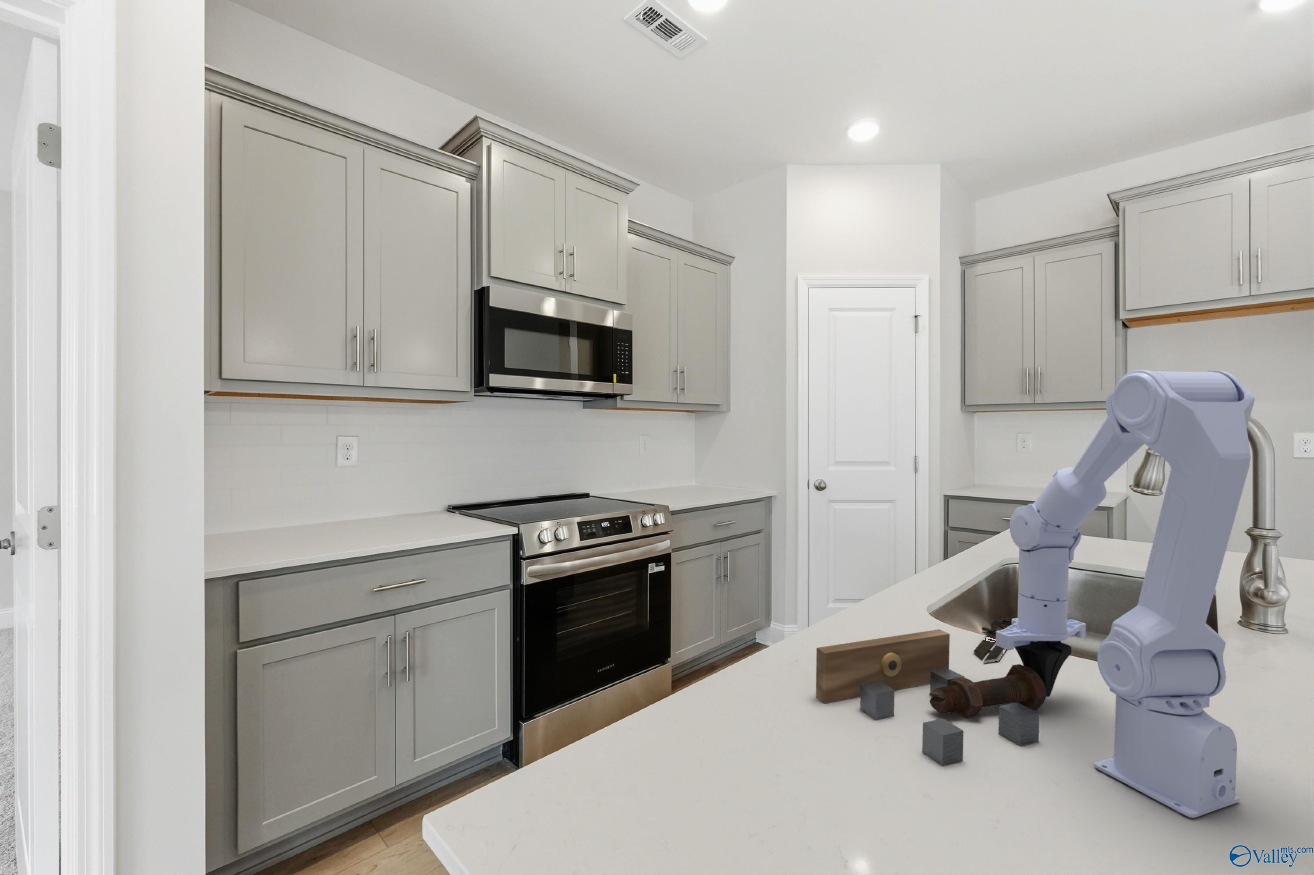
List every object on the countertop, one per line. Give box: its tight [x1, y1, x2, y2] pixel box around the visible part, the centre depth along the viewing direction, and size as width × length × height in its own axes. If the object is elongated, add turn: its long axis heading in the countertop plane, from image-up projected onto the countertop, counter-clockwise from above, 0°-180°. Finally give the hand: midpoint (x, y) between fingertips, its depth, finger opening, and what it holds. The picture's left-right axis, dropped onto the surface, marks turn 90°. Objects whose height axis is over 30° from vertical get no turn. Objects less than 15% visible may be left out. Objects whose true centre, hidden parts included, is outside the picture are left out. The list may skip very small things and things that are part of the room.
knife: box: [973, 617, 1013, 664], centre depth 106 cm, size 25×6×1 cm, turn 135°
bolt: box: [928, 663, 1047, 719], centre depth 81 cm, size 6×5×15 cm
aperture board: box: [815, 629, 951, 705], centre depth 87 cm, size 3×22×7 cm, turn 110°
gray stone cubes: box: [859, 668, 1040, 767], centre depth 77 cm, size 14×15×4 cm
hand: (1040, 693), depth 83 cm, fingers closed
